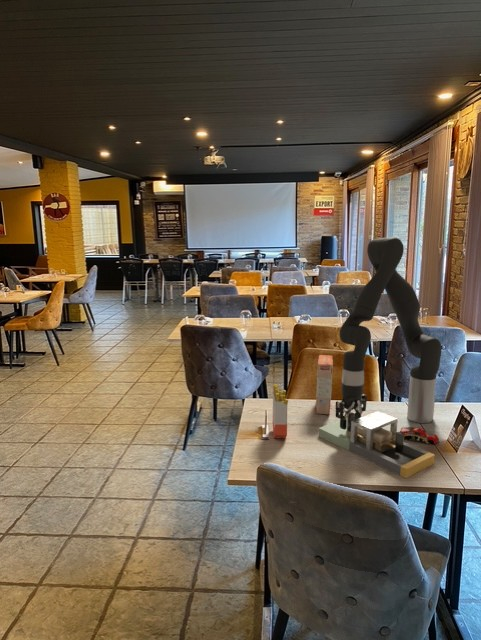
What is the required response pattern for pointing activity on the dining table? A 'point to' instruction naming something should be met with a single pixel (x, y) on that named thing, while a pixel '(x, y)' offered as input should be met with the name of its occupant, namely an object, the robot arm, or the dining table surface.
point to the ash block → (377, 434)
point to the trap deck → (381, 452)
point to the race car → (419, 435)
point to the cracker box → (324, 384)
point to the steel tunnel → (372, 426)
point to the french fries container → (279, 413)
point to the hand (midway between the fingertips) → (350, 425)
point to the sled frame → (393, 443)
